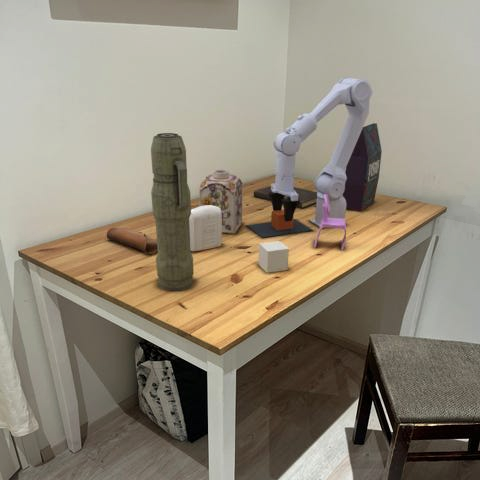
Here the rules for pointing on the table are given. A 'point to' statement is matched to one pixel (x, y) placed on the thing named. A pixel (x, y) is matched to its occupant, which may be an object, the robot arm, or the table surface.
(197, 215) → the photo printer
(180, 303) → the table surface
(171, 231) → the thermos
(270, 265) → the white cube
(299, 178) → the table surface
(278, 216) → the orange box
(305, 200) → the hardcover book
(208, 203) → the decorative jar
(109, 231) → the sunglasses case
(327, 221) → the toy chair
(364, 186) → the decorative box
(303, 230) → the back mat
